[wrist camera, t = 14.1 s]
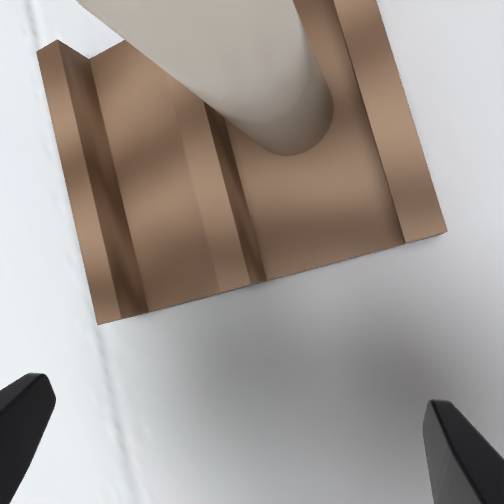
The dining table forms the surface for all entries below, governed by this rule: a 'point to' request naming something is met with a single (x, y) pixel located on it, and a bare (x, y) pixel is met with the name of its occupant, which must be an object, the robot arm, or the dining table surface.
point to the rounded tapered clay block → (234, 62)
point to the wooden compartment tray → (232, 171)
